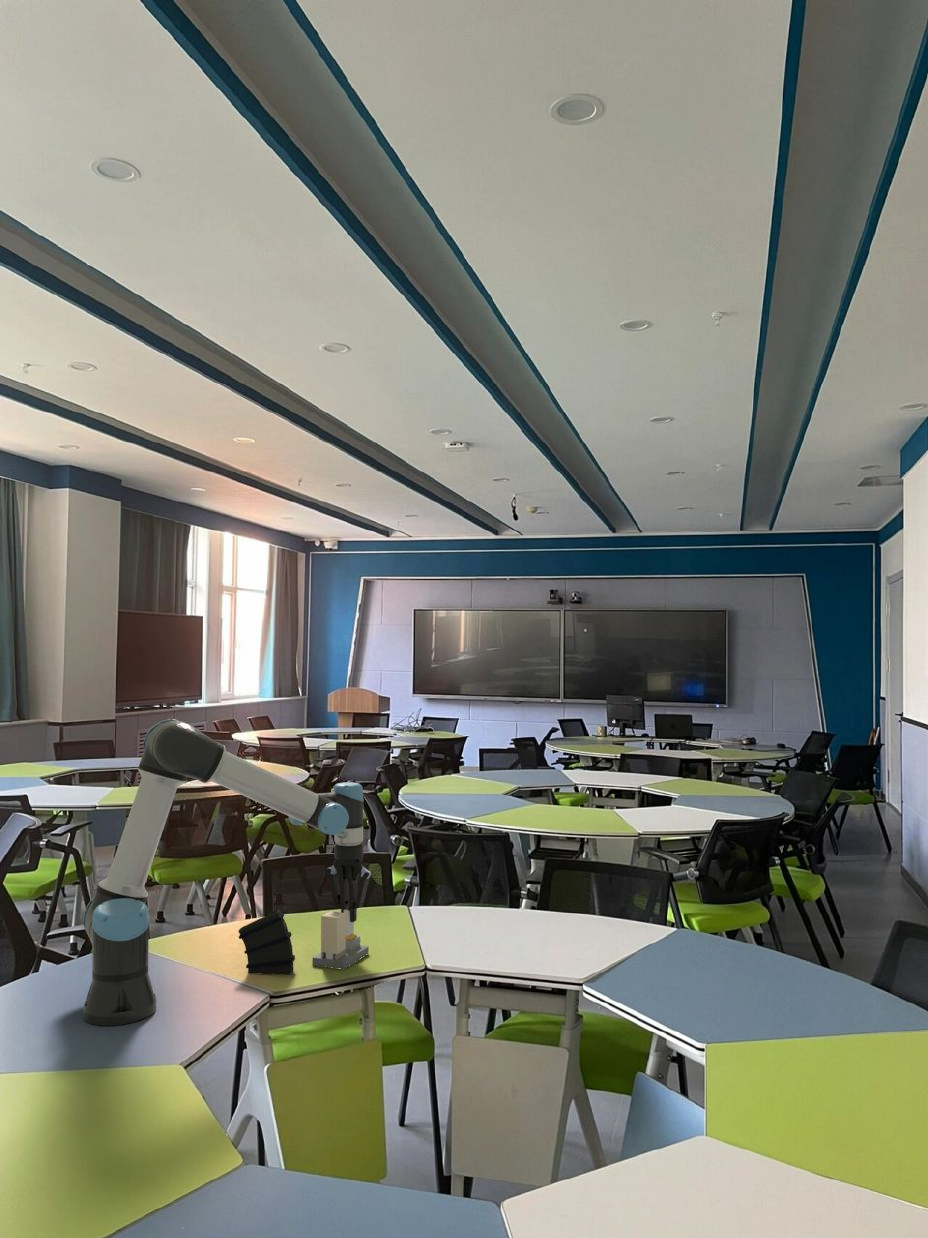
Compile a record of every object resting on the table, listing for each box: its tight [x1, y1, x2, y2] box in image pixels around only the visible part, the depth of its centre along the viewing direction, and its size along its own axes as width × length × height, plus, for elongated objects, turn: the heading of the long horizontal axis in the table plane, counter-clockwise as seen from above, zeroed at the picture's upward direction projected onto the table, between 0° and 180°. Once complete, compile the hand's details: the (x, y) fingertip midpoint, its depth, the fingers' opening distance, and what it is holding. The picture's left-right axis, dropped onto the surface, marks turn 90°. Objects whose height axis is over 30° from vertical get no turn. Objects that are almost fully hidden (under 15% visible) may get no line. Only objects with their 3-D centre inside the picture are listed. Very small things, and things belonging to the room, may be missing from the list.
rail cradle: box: [312, 935, 370, 970], centre depth 244 cm, size 9×13×4 cm
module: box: [320, 910, 346, 960], centre depth 241 cm, size 5×4×10 cm
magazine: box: [238, 909, 296, 975], centre depth 235 cm, size 4×13×15 cm, turn 88°
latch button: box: [346, 932, 357, 940], centre depth 248 cm, size 3×3×3 cm
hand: (348, 934), depth 248 cm, fingers closed
